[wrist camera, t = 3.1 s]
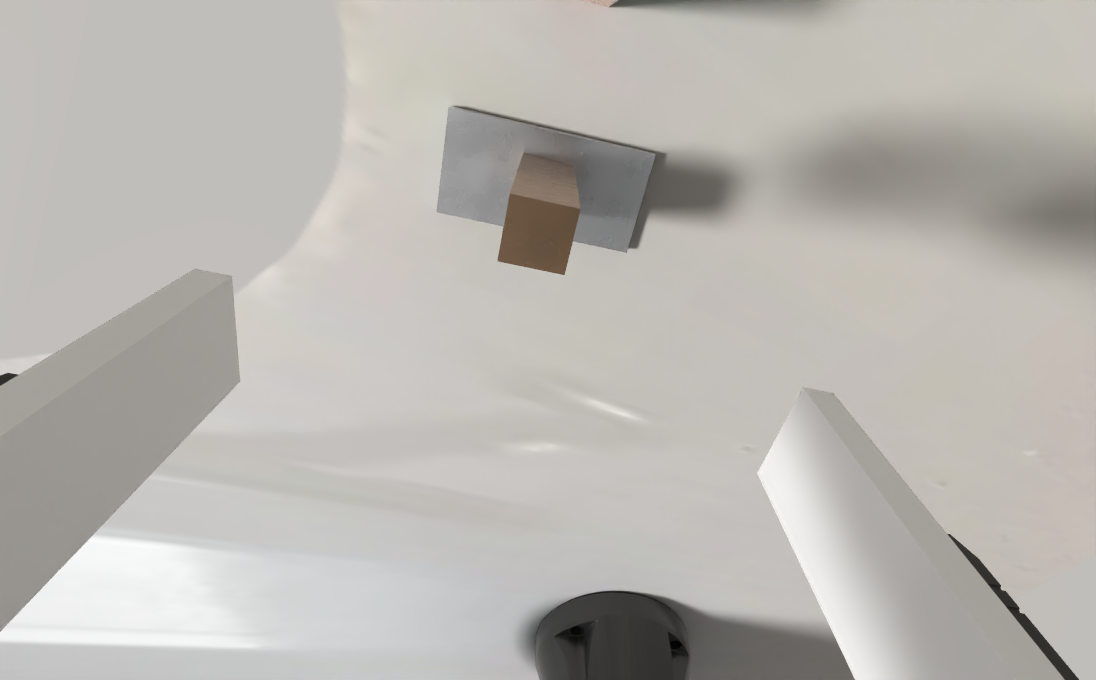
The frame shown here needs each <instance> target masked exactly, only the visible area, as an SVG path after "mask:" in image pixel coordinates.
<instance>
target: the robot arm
mask: <svg viewBox="0 0 1096 680" xmlns="http://www.w3.org/2000/svg"><path fill="white" fill-rule="evenodd" d="M239 382H240V374H239V361H238V348H237V336H236V323H235V311H234V298H233V286H232V276H229V275H224V274H219V273H213V272H208V271H203V270H198V269H194V270H192V271H190V272H189V273H187V274H185V275H184V276H182V277H180V278H179V279H177V280H175V281H174V282H172V283H170V284H169V285H167V286H165V287H164V288H162V289H161V290H159V291H157V292H155V293H154V294H152V295H150V296H149V297H147V298H145V299H144V300H142V301H141V302H139V303H137V304H136V305H134V306H132V307H131V308H129V309H128V310H126V311H124V312H122V313H121V314H119V315H117V316H116V317H114V318H112V319H111V320H109V321H108V322H106V323H104V324H102V325H101V326H99V327H98V328H96V329H94V330H92V331H91V332H89V333H88V334H86V335H84V336H82V337H81V338H79V339H78V340H76V341H74V342H72V343H71V344H69V345H67V346H66V347H64V348H63V349H61V350H59V351H58V352H56V353H54V354H53V355H51V356H49V357H48V358H46V359H44V360H43V361H41V362H39V363H38V364H36V365H34V366H33V367H31V368H29V369H28V370H26V371H24V372H23V373H21V374H19V375H17V374H11V373H7V374H4V375H1V376H0V631H1V630H2V629H3V628H4V627H5V626H6V625H7V624H8V623H9V622H10V621H11V620H12V619H13V618H14V617H15V616H16V615H17V614H18V613H19V611H20V610H21V609H22V608H23V607H24V606H25V605H26V604H27V603H28V602H29V601H30V600H31V599H32V598H33V597H34V596H35V595H36V594H37V593H38V592H39V591H40V590H41V589H42V587H43V586H44V585H45V584H46V583H47V582H48V581H49V580H50V579H51V578H52V577H53V576H54V575H55V574H56V573H57V572H58V571H59V570H60V569H61V568H62V567H63V566H64V565H65V563H66V562H67V561H68V560H69V559H70V558H71V557H72V556H73V555H74V554H75V553H76V552H77V551H78V550H79V549H80V548H81V547H82V546H83V545H84V544H85V543H86V542H87V541H88V539H89V538H90V537H91V536H92V535H93V534H94V533H95V532H96V531H97V530H98V529H99V528H100V527H101V526H102V525H103V524H104V523H105V522H106V521H107V520H108V519H109V518H110V516H111V515H112V514H113V513H114V512H115V511H116V510H117V509H118V508H119V507H120V506H121V505H122V504H123V503H124V502H125V501H126V500H127V499H128V498H129V497H130V496H131V495H132V494H133V492H134V491H135V490H136V489H137V488H138V487H139V486H140V485H141V484H142V483H143V482H144V481H145V480H146V479H147V478H148V477H149V476H150V475H151V474H152V473H153V472H154V471H155V470H156V468H157V467H158V466H159V465H160V464H161V463H162V462H163V461H164V460H165V459H166V458H167V457H168V456H169V455H170V454H171V453H172V452H173V451H174V450H175V449H176V448H177V447H178V446H179V444H180V443H181V442H182V441H183V440H184V439H185V438H186V437H187V436H188V435H189V434H190V433H191V432H192V431H193V430H194V429H195V428H196V427H197V426H198V425H199V424H200V423H201V422H202V420H203V419H204V418H205V417H206V416H207V415H208V414H209V413H210V412H211V411H212V410H213V409H214V408H215V407H216V406H217V405H218V404H219V403H220V402H221V401H222V400H223V399H224V398H225V396H226V395H227V394H228V393H229V392H230V391H231V390H232V389H233V388H234V387H235V386H236V385H237V384H238V383H239ZM757 474H758V476H759V478H760V480H761V482H762V484H763V487H764V489H765V491H766V493H767V495H768V497H769V499H770V501H771V503H772V505H773V508H774V510H775V512H776V514H777V516H778V518H779V520H780V522H781V524H782V527H783V529H784V531H785V533H786V535H787V537H788V539H789V541H790V543H791V546H792V548H793V550H794V552H795V554H796V556H797V558H798V560H799V562H800V565H801V567H802V569H803V571H804V573H805V575H806V577H807V579H808V581H809V584H810V586H811V588H812V590H813V592H814V594H815V596H816V598H817V600H818V603H819V605H820V607H821V609H822V611H823V613H824V615H825V617H826V619H827V621H828V624H829V626H830V628H831V630H832V632H833V634H834V636H835V638H836V640H837V643H838V645H839V647H840V649H841V651H842V653H843V655H844V657H845V659H846V662H847V664H848V666H849V668H850V670H851V672H852V674H853V676H854V678H855V680H1079V679H1078V678H1077V677H1076V676H1075V674H1074V673H1073V672H1072V671H1071V670H1070V668H1069V667H1068V666H1067V665H1066V663H1065V662H1064V661H1063V660H1062V659H1061V657H1060V656H1059V655H1058V654H1057V652H1056V651H1055V650H1054V649H1053V648H1052V646H1050V644H1049V643H1048V642H1047V640H1046V639H1045V638H1044V637H1043V636H1042V634H1040V632H1039V631H1038V630H1037V628H1036V627H1035V626H1034V625H1033V624H1032V622H1031V621H1030V620H1029V619H1028V618H1027V616H1026V615H1025V614H1022V613H1020V612H1019V607H1018V606H1017V604H1016V603H1015V602H1014V601H1013V599H1012V598H1011V597H1010V596H1009V595H1008V593H1007V592H1006V591H1002V590H1001V588H1000V587H1001V585H1000V584H999V583H998V581H997V580H996V579H995V578H994V577H993V575H992V574H991V573H990V572H989V571H988V569H987V568H986V567H985V566H984V565H983V563H982V562H981V561H980V560H979V559H978V558H977V557H976V556H975V555H974V554H972V553H971V552H970V551H969V550H968V549H967V548H965V547H964V546H963V545H962V544H961V543H960V542H958V541H957V540H956V539H955V538H954V537H952V536H951V535H950V534H947V533H946V532H945V531H944V530H943V528H942V527H941V526H940V525H939V523H938V522H937V521H936V520H935V518H934V517H933V516H932V515H931V513H930V512H929V511H928V510H927V508H926V507H925V506H924V505H923V504H922V502H921V501H920V500H919V499H918V497H917V496H916V495H915V494H914V492H913V491H912V490H911V489H910V487H909V486H908V485H907V484H906V482H905V481H904V480H903V479H902V477H901V476H900V475H899V474H898V473H897V471H896V470H895V469H894V468H893V466H892V465H891V464H890V463H889V461H888V460H887V459H886V458H885V456H884V455H883V454H882V453H881V451H880V450H879V449H878V448H877V447H876V445H875V444H874V443H873V442H872V440H871V439H870V438H869V437H868V435H867V434H866V433H865V432H864V430H863V429H862V428H861V427H860V425H859V424H858V423H857V422H856V421H855V419H854V418H853V417H852V416H851V414H850V413H849V412H848V411H847V409H846V408H845V407H844V406H843V404H842V403H841V402H840V401H839V399H838V398H837V397H836V396H835V395H834V393H829V392H824V391H819V390H814V389H809V388H804V387H803V389H802V391H801V393H800V395H799V396H798V398H797V400H796V402H795V404H794V406H793V408H792V410H791V411H790V413H789V415H788V417H787V419H786V421H785V423H784V425H783V426H782V428H781V430H780V432H779V434H778V436H777V438H776V439H775V441H774V443H773V445H772V447H771V449H770V451H769V453H768V454H767V456H766V458H765V460H764V462H763V464H762V466H761V467H760V469H759V471H758V473H757ZM535 661H536V668H537V672H538V676H539V679H540V680H688V678H689V668H690V649H689V645H688V640H687V636H686V631H685V628H684V625H683V623H682V621H681V620H680V618H679V617H678V616H677V615H676V614H675V613H674V612H673V611H672V610H671V609H669V608H668V607H667V606H665V605H663V604H661V603H660V602H657V601H655V600H653V599H650V598H647V597H644V596H639V595H635V594H628V593H599V594H592V595H587V596H583V597H579V598H576V599H573V600H571V601H568V602H566V603H564V604H562V605H561V606H559V607H557V608H556V609H554V610H553V611H552V612H550V613H549V614H548V615H547V616H546V617H545V618H544V620H543V621H542V622H541V624H540V626H539V628H538V630H537V634H536V649H535Z"/></svg>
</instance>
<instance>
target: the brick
mask: <svg viewBox="0 0 1096 680" xmlns="http://www.w3.org/2000/svg"><path fill="white" fill-rule="evenodd" d="M583 1H587V2H591V3H595V4H599V5H603V6H606V7H609V6H610V5H612V4H613V3H616V2H617V1H618V0H583Z"/></svg>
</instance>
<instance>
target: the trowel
mask: <svg viewBox="0 0 1096 680" xmlns="http://www.w3.org/2000/svg"><path fill="white" fill-rule="evenodd" d="M655 156H656V155H655V154H654V153H653V152H648V151H644V150H640V149H635V148H631V147H627V146H623V145H618V144H614V143H610V142H605V141H601V140H597V139H592V138H588V137H584V136H579V135H575V134H571V133H567V132H562V131H558V130H554V129H549V128H545V127H541V126H536V125H532V124H528V123H523V122H519V121H515V120H511V119H506V118H502V117H498V116H493V115H489V114H485V113H480V112H476V111H472V110H467V109H463V108H459V107H455V106H450V107H449V109H448V118H447V127H446V135H445V144H444V153H443V161H442V170H441V179H440V187H439V196H438V205H437V212H439V213H444V214H448V215H453V216H458V217H462V218H467V219H472V220H476V221H481V222H486V223H491V224H495V225H500V226H504V228H503V234H502V239H501V245H500V250H499V256H498V261H500V262H504V263H509V264H514V265H519V266H524V267H528V268H533V269H538V270H543V271H548V272H553V273H557V274H562V275H565V271H566V266H567V262H568V258H569V254H570V250H571V246H572V242H573V241H575V242H579V243H584V244H589V245H594V246H598V247H603V248H608V249H612V250H617V251H622V252H626V253H627V250H628V246H629V243H630V240H631V236H632V233H633V230H634V226H635V223H636V220H637V216H638V213H639V209H640V206H641V203H642V199H643V196H644V193H645V189H646V186H647V183H648V179H649V176H650V173H651V169H652V166H653V163H654V159H655Z"/></svg>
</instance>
